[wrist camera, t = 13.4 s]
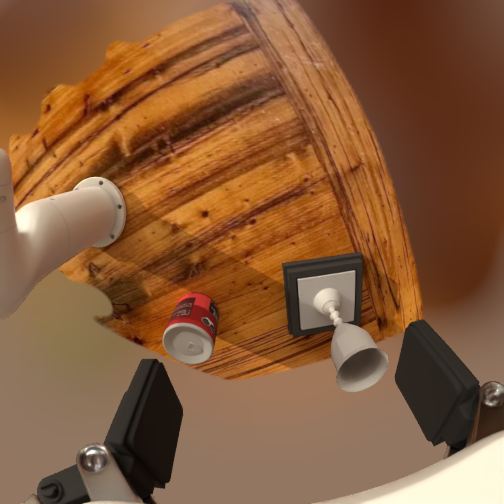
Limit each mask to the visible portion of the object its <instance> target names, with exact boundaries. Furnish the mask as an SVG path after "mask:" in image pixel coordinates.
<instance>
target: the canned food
mask: <svg viewBox="0 0 504 504" xmlns="http://www.w3.org/2000/svg"><path fill="white" fill-rule="evenodd" d="M218 319H219V311H218V308H217V305H216V303H215V302H214V301H213V300H212V299H211V298H210V297H208V296H207V295H204V294H201V293H190V294H187V295H185V296H183V297H182V298H181V299H180V300H179V301H178V303H177V305H176V307H175V310H174V312H173V314H172V316H171V318H170V321H169V323H168V325H167V327H166V330H165V332H164V335H163V345H164V348H165V350H166V351H167V352H168V354H169V355H170V356H172V357H173V358H174V359H176V360H178V361H180V362H182V363H186V364H200V363H203V362H205V361H207V360H208V359H209V358H210V357H211V355H212V353H213V350H214V345H215V339H216V332H217V326H218Z"/></svg>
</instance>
